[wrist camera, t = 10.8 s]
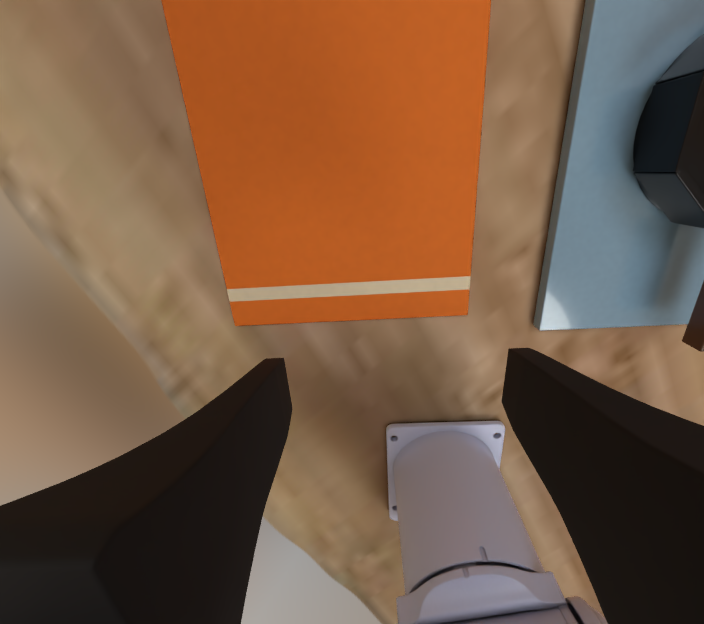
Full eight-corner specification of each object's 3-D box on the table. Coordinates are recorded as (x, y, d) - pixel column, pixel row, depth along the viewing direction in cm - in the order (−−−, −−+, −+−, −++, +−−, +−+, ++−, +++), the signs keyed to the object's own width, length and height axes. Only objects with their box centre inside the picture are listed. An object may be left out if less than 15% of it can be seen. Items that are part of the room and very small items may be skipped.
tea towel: (466, 313, 20) (467, 315, 20) (236, 324, 21) (234, 326, 21) (503, -193, 12) (506, -202, 12) (131, -144, 13) (126, -152, 13)
